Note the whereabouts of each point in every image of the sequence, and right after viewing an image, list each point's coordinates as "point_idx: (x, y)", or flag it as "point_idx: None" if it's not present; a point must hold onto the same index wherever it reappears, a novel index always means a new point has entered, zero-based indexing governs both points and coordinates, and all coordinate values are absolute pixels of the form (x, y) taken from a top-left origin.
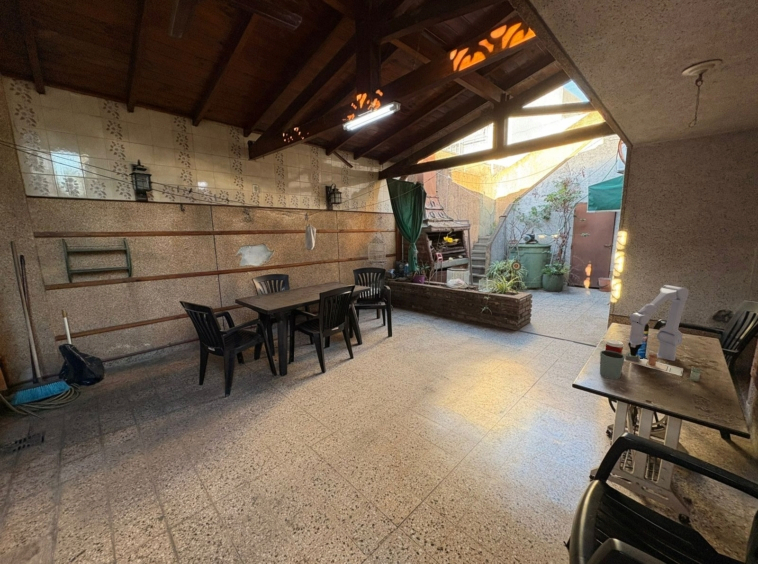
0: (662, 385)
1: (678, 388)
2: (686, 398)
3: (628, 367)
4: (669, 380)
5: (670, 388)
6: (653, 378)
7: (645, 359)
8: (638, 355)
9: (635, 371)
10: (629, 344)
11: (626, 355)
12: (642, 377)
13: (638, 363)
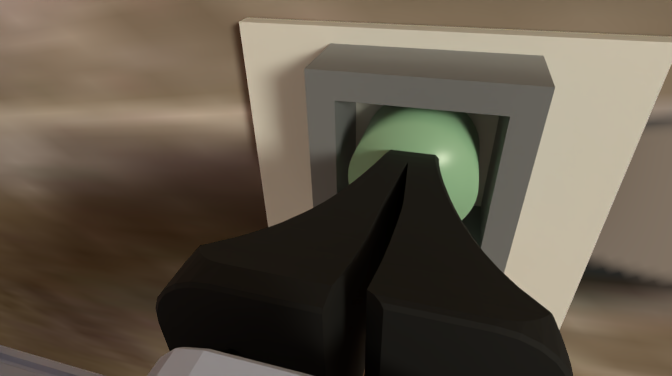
0: (36, 294)
1: (88, 351)
2: None
3: (110, 103)
4: (159, 341)
5: (43, 320)
6: (86, 268)
7: (558, 282)
8: (489, 249)
9: (79, 164)
10: (159, 299)
11: (316, 82)
12: (20, 207)
13: (304, 202)
